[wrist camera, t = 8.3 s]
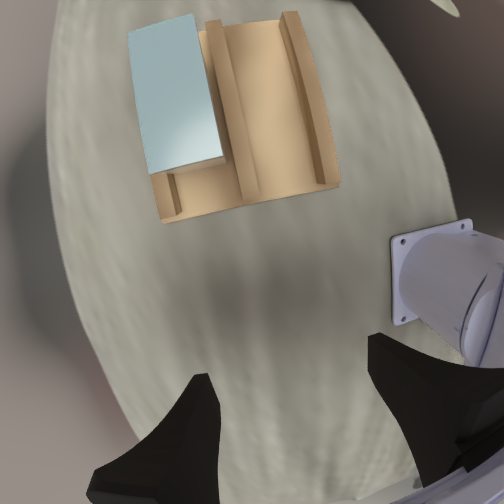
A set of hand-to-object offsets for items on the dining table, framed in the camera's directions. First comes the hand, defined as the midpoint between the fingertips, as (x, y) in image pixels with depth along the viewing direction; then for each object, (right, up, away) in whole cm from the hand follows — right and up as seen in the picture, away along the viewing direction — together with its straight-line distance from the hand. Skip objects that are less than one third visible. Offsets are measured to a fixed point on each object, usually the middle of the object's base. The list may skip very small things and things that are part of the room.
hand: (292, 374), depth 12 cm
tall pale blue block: (-6, +14, +5) cm, 16 cm away
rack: (-3, +15, +6) cm, 16 cm away
